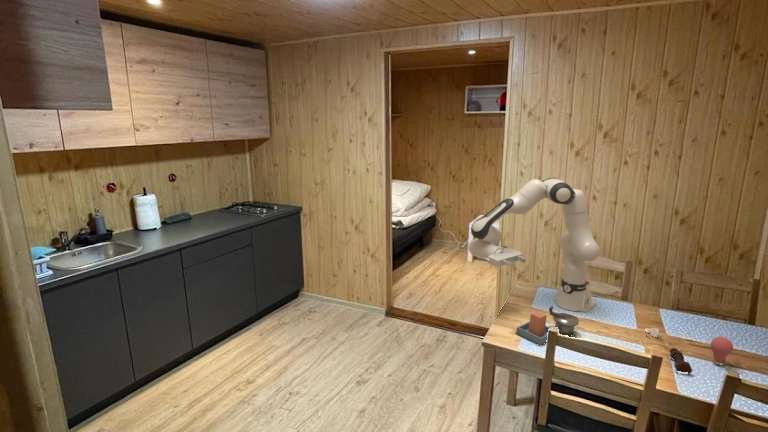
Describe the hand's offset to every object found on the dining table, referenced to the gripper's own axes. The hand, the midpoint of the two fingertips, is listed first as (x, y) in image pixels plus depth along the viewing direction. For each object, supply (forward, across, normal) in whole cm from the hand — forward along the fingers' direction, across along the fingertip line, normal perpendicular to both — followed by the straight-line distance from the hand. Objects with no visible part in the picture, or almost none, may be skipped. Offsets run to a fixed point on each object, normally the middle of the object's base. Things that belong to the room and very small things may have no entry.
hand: (519, 262), depth 198 cm
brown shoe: (+63, +25, +30) cm, 74 cm away
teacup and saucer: (+47, +45, +31) cm, 72 cm away
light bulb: (+72, +39, +30) cm, 87 cm away
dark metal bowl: (+20, +10, +30) cm, 37 cm away
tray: (+16, -4, +30) cm, 34 cm away
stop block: (+16, -4, +29) cm, 33 cm away
